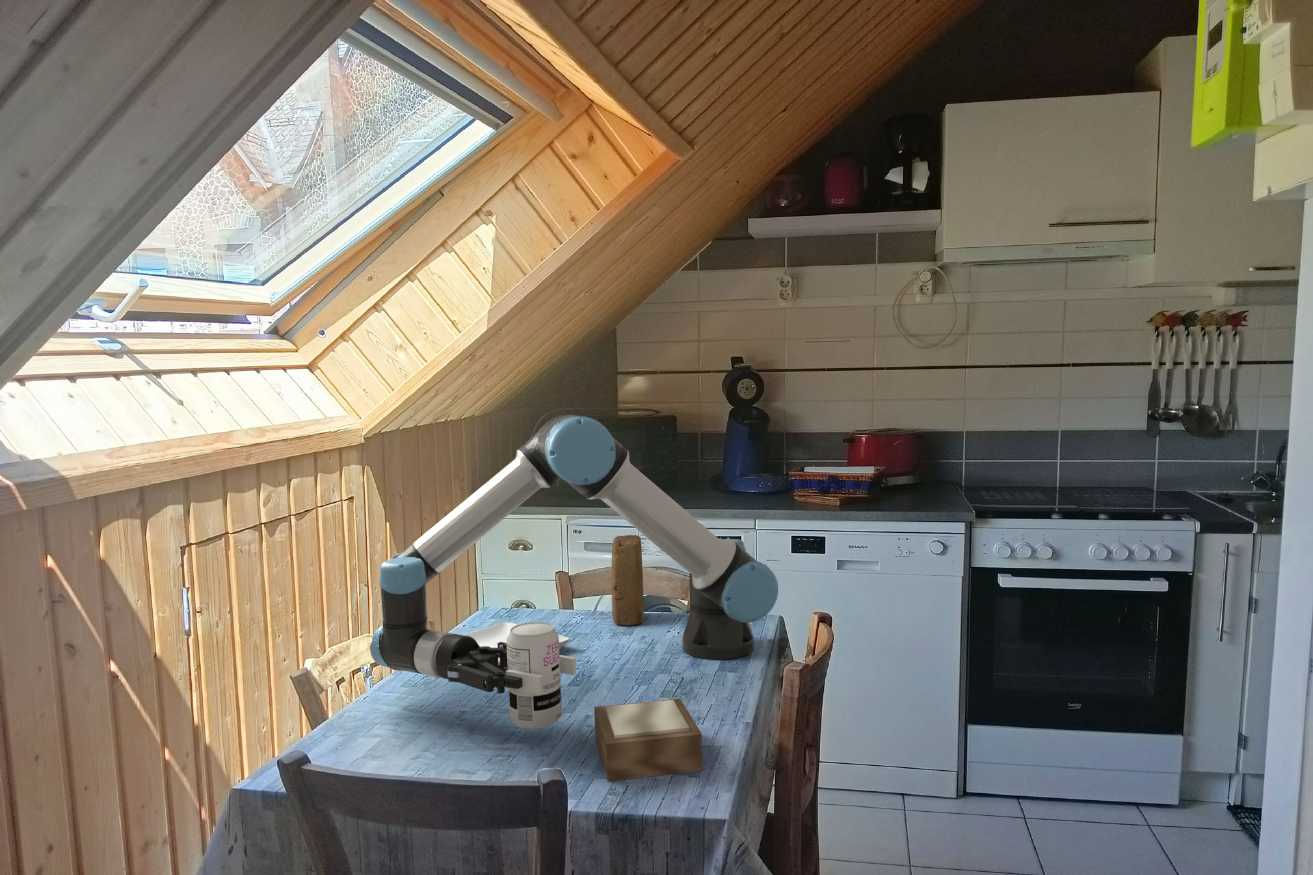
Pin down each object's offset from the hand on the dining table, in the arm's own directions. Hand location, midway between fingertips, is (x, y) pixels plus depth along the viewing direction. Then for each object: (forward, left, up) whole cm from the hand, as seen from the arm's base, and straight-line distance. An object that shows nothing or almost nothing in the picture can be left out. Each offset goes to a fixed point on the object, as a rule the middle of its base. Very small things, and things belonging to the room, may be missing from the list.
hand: (558, 675), depth 134 cm
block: (-21, -64, -11) cm, 69 cm away
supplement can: (+4, -3, -8) cm, 9 cm away
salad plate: (+9, -47, -12) cm, 49 cm away
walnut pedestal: (-12, +7, -11) cm, 18 cm away
